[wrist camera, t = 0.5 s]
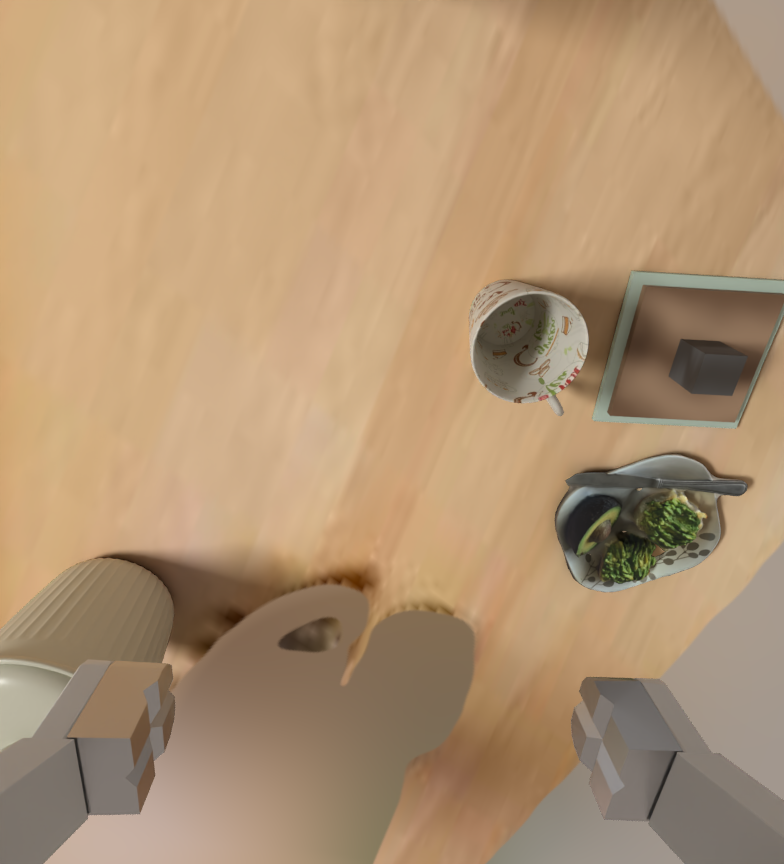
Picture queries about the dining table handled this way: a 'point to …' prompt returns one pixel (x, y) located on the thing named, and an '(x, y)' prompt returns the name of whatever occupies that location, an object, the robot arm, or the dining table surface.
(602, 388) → the green mat
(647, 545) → the salad plate
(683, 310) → the walnut lid
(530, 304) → the mug
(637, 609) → the dining table surface
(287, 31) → the dining table surface
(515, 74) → the dining table surface
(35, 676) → the canister
